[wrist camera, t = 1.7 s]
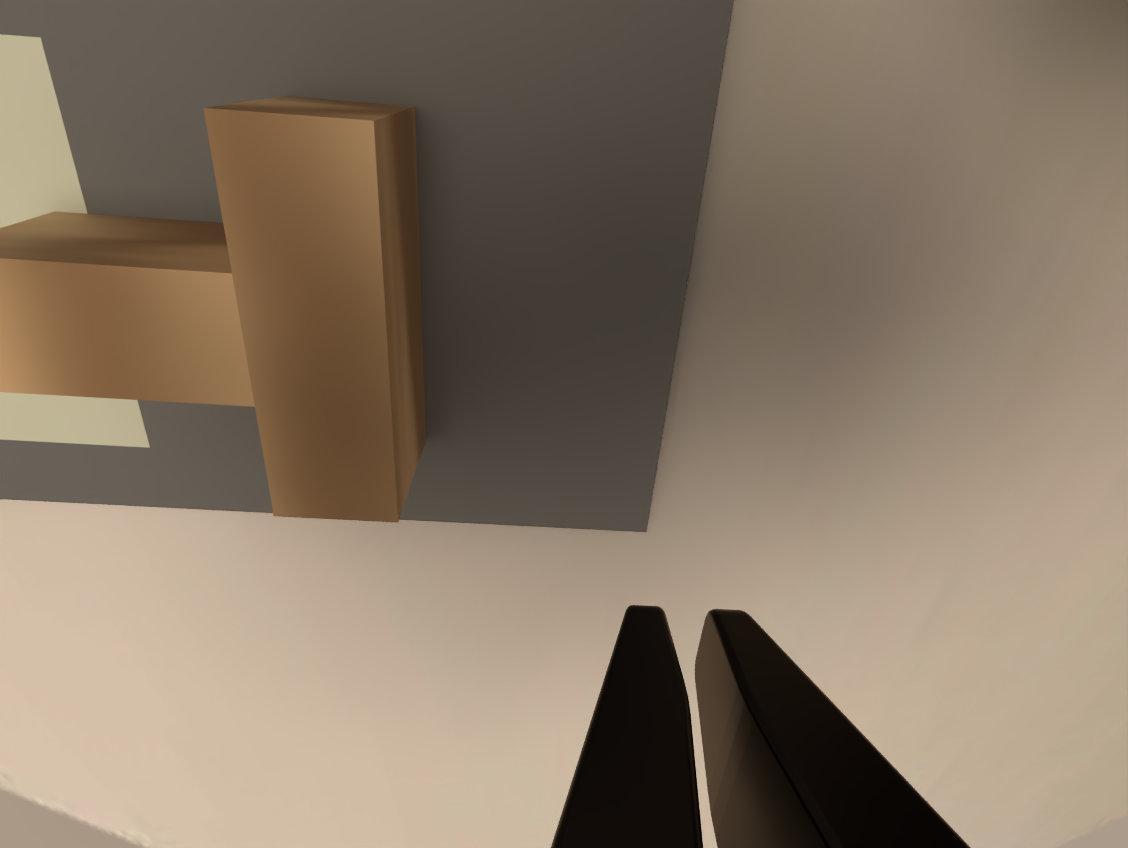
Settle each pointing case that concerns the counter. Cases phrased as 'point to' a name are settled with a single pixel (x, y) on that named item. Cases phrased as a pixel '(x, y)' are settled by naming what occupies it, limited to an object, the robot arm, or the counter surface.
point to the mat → (446, 228)
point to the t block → (252, 301)
